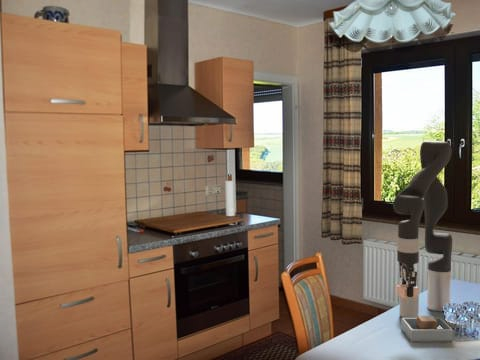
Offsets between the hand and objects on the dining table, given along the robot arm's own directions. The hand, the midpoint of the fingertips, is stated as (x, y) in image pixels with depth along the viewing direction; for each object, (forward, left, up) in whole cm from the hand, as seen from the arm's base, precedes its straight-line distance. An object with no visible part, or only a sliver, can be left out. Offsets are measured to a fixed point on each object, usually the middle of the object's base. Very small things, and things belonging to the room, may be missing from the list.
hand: (407, 293), depth 179 cm
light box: (0, 0, -1) cm, 1 cm away
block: (-2, +8, -16) cm, 18 cm away
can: (-21, +7, -17) cm, 28 cm away
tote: (-2, +8, -17) cm, 19 cm away
